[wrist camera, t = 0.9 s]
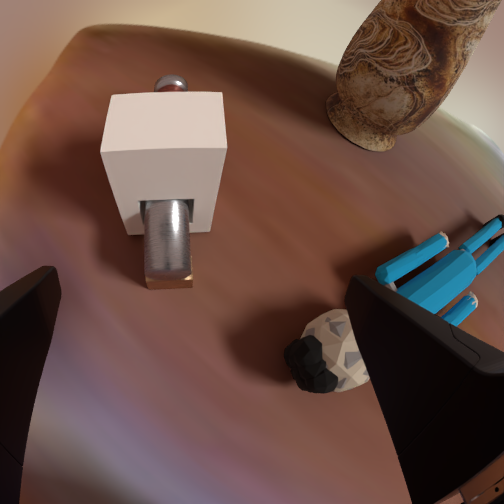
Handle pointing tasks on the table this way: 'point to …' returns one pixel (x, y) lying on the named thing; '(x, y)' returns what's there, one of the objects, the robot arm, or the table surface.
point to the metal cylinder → (167, 227)
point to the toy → (417, 290)
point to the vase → (404, 66)
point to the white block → (165, 153)
